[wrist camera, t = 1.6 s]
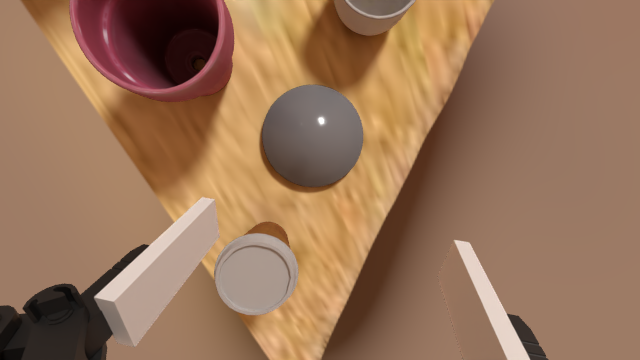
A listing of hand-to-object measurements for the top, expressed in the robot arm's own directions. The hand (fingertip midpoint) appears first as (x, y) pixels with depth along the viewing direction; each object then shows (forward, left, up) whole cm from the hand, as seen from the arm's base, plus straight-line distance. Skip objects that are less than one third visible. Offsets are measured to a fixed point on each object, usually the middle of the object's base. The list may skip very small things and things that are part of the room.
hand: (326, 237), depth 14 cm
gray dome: (-6, +3, -26) cm, 27 cm away
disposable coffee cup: (+7, -9, -26) cm, 28 cm away
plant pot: (-21, -9, -26) cm, 35 cm away
